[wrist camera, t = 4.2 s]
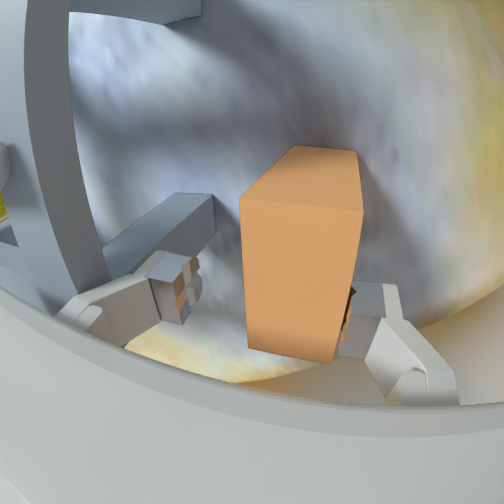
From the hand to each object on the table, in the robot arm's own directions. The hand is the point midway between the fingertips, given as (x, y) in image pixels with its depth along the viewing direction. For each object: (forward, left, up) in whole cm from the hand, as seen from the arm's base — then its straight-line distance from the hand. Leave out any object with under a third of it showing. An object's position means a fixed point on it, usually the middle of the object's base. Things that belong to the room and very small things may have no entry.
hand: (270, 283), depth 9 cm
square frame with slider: (-5, -13, -7) cm, 15 cm away
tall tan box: (0, +1, -7) cm, 7 cm away
